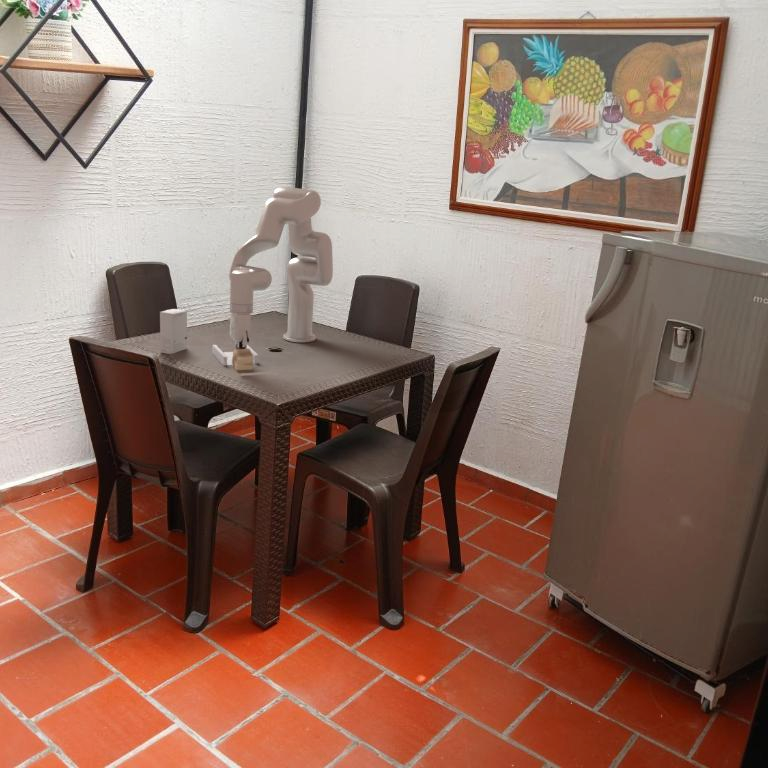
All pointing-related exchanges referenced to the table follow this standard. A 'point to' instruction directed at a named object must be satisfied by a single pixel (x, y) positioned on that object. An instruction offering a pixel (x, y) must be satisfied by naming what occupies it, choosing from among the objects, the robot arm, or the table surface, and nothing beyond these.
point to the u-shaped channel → (230, 355)
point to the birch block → (242, 359)
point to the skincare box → (173, 331)
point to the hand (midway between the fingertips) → (240, 360)
